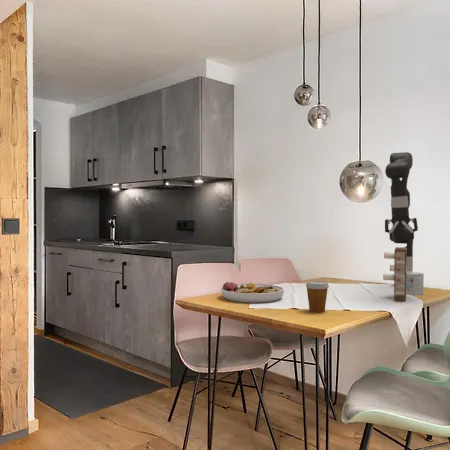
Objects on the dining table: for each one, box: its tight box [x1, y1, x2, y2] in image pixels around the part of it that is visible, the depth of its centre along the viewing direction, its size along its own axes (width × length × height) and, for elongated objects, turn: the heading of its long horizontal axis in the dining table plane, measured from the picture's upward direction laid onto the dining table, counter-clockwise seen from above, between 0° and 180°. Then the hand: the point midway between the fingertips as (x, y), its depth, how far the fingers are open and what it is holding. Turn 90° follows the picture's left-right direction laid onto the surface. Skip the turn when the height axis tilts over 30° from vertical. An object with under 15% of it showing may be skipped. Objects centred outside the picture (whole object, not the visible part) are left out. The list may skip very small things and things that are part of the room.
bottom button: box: [382, 273, 394, 282], centre depth 234 cm, size 3×7×3 cm, turn 68°
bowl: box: [220, 281, 285, 304], centre depth 233 cm, size 30×30×8 cm
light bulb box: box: [406, 271, 425, 296], centre depth 247 cm, size 11×7×11 cm, turn 25°
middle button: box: [389, 264, 407, 272], centre depth 228 cm, size 3×7×3 cm, turn 68°
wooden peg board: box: [393, 246, 407, 303], centre depth 232 cm, size 17×5×24 cm, turn 158°
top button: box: [383, 252, 395, 260], centre depth 238 cm, size 3×7×3 cm, turn 68°
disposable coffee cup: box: [305, 280, 330, 313], centre depth 203 cm, size 10×10×12 cm
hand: (401, 240), depth 226 cm, fingers open, 8 cm apart
